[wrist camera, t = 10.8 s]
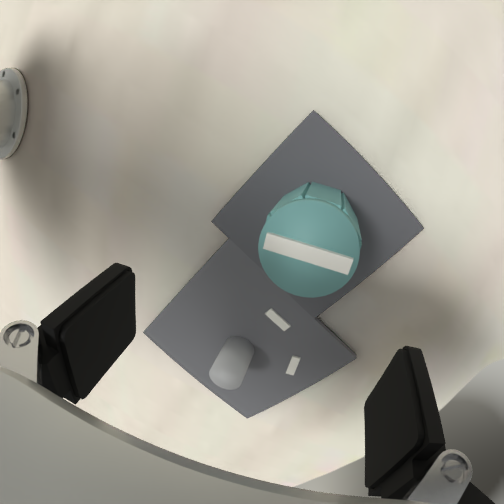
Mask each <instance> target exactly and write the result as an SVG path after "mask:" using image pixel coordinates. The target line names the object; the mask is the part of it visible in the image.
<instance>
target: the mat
mask: <svg viewBox="0 0 504 504" xmlns="http://www.w3.org/2000/svg"><path fill="white" fill-rule="evenodd" d="M308 182H309V183H310V185H311V183H312V182H315V183H319V184H322V185H325V186H329V187H332V188H335V189H339V190H341V194H342V193H344V194H345V196H346V198H347V200H348V201H349V203H350V205H351V207H352V209H353V211H354V213H355V215H356V217H357V219H358V224H359V229H360V234H361V239H362V241H361V242H362V246H361V249H360V256H359V262H358V265H357V268H356V270H355V272H354V274H353V276H352V277H351V279H350V280H349V281H348V282H347V283H346V284H345V285H344V286H343V287H342V288H340V289H339V290H337V291H335V292H333V293H331V294H328V295H326V296H321V297H314V298H312V297H300V296H296V295H293V294H291V293H288V292H286V291H285V292H286V293H287V294H288V295H290V296H291V297H292V298H293V299H294V300H295V301H296V302H297V303H298V304H299V305H300V306H301V307H302V308H303V309H304V310H305V311H307V312H308V313H309V314H310V315H311V316H312V317H313V318H315V317H317V316H318V315H319V314H321V313H322V312H323V311H325V310H326V309H327V308H329V307H330V306H331V305H333V304H334V303H335V302H336V301H338V300H339V299H340V298H342V297H343V296H344V295H345V294H347V293H348V292H349V291H350V290H352V289H353V288H354V287H356V286H357V285H358V284H359V283H360V282H362V281H363V280H364V279H365V278H367V277H368V276H369V275H370V274H372V273H373V272H374V271H375V270H376V269H378V268H379V267H380V266H381V265H382V264H384V263H385V262H386V261H387V260H388V259H389V258H391V257H392V256H393V255H394V254H395V253H396V252H398V251H399V250H400V249H401V248H402V247H403V246H405V245H406V244H407V243H408V242H409V241H410V240H411V239H412V238H414V237H415V236H416V235H417V234H418V233H419V232H420V231H421V230H422V229H424V228H423V226H422V225H421V224H420V222H419V221H418V220H417V219H416V218H415V216H414V215H413V214H412V213H411V211H410V210H409V209H408V208H407V207H406V205H405V204H404V203H403V202H402V201H401V200H400V198H399V197H398V196H397V195H396V194H395V193H394V191H393V190H392V189H391V188H390V187H389V186H388V185H387V183H386V182H385V181H384V180H383V179H382V178H381V177H380V176H379V175H378V174H377V172H376V171H375V170H374V169H373V168H372V167H371V166H370V165H369V164H368V163H367V162H366V161H365V160H364V159H363V158H362V157H361V156H360V155H359V153H358V152H357V151H356V150H355V149H354V148H353V147H352V146H351V145H350V144H349V143H348V142H347V141H346V140H345V139H344V138H343V137H342V136H341V135H340V134H338V133H337V132H336V131H335V130H334V129H333V128H332V127H331V126H330V125H329V124H328V123H327V122H326V121H325V120H324V119H323V118H322V117H320V116H319V115H318V114H317V113H316V112H315V111H314V110H313V111H312V112H311V113H310V114H309V115H308V116H307V117H306V118H305V119H304V120H303V122H302V123H301V124H300V125H299V126H298V127H297V128H296V129H295V130H294V131H293V132H292V133H291V134H290V135H289V136H288V137H287V138H286V139H285V140H284V141H283V143H282V144H281V145H280V146H279V147H278V148H277V149H276V150H275V151H274V152H273V153H272V154H271V155H270V156H269V158H268V159H267V160H266V161H265V162H264V163H263V164H262V165H261V166H260V167H259V168H258V170H257V171H256V172H255V173H254V174H253V175H252V176H251V177H250V178H249V179H248V181H247V182H246V183H245V184H244V185H243V186H242V187H241V188H240V189H239V191H238V192H237V193H236V194H235V195H234V196H233V197H232V198H231V200H230V201H229V202H228V203H227V204H226V205H225V206H224V208H223V209H222V210H221V211H220V212H219V213H218V214H217V216H216V217H215V218H214V219H213V220H212V221H211V222H212V223H213V224H215V225H216V226H217V227H218V228H219V229H220V230H221V231H222V232H223V233H224V234H225V235H226V236H227V237H228V238H229V239H230V240H231V241H232V242H233V243H235V244H236V245H237V246H238V247H239V248H240V249H241V250H242V251H243V252H244V253H245V254H246V255H247V256H248V257H249V258H250V259H251V260H252V261H254V262H255V263H256V264H257V265H258V266H259V267H260V268H261V269H262V270H263V271H264V269H263V267H262V264H261V262H260V258H259V252H258V243H259V237H260V234H261V231H262V229H263V227H264V225H265V223H266V219H267V215H268V214H269V213H270V212H271V210H272V209H273V208H274V207H275V206H276V204H277V203H278V202H279V201H280V200H281V198H282V197H283V196H284V195H286V194H288V193H290V192H291V191H293V190H295V189H297V188H299V187H300V186H302V185H304V184H306V183H308ZM264 272H265V271H264Z"/></svg>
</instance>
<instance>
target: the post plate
mask: <svg viewBox="0 0 504 504" xmlns="http://www.w3.org/2000/svg"><path fill="white" fill-rule="evenodd" d="M143 333H144V334H145V335H146V336H147V337H148V338H150V339H151V340H152V341H153V342H154V343H155V344H156V345H157V346H158V347H159V348H161V349H162V350H163V351H164V352H165V353H166V354H167V355H168V356H170V357H171V358H172V359H173V360H174V361H175V362H176V363H178V364H179V365H180V366H181V367H182V368H183V369H185V370H186V371H187V372H188V373H189V374H191V375H192V376H193V377H194V378H195V379H197V380H198V381H199V382H200V383H202V384H203V385H204V386H205V387H207V388H208V389H209V390H210V391H212V392H213V393H214V394H215V395H217V396H218V397H219V398H221V399H222V400H223V401H224V402H226V403H227V404H228V405H230V406H231V407H232V408H234V409H235V410H236V411H238V412H239V413H241V414H242V415H243V416H245V417H246V418H249V417H252V416H254V415H256V414H258V413H260V412H262V411H264V410H266V409H268V408H270V407H272V406H274V405H276V404H278V403H280V402H282V401H284V400H286V399H287V398H289V397H291V396H293V395H295V394H297V393H299V392H300V391H302V390H304V389H306V388H308V387H309V386H311V385H313V384H315V383H317V382H318V381H320V380H322V379H323V378H325V377H327V376H329V375H330V374H332V373H334V372H335V371H337V370H339V369H340V368H342V367H343V366H345V365H347V364H348V363H350V362H351V361H353V360H355V359H356V354H355V353H354V352H353V351H352V350H351V349H350V348H349V347H347V346H346V345H345V344H344V343H343V342H342V341H341V340H340V339H339V338H338V337H337V336H336V335H335V334H334V333H333V332H332V331H330V330H329V329H328V328H327V327H326V326H325V325H324V324H323V323H322V322H321V321H320V320H319V319H318V318H317V317H315V318H313V317H312V316H311V315H310V314H309V313H308V312H307V311H305V310H304V309H303V308H302V307H301V306H300V305H299V304H298V303H297V302H296V301H295V300H294V299H293V298H292V297H291V296H290V295H288V294H287V293H286V292H285V291H284V290H283V289H281V288H280V287H278V286H277V285H276V284H275V283H273V281H272V280H271V279H270V278H269V277H268V276H267V274H266V273H265V272H264V271H263V270H262V269H261V268H260V267H259V266H258V265H257V264H256V263H255V262H254V261H252V260H251V259H250V258H249V257H248V256H247V255H246V254H245V253H244V252H243V251H242V250H241V249H240V248H239V247H238V246H237V245H236V244H235V243H233V242H232V241H231V240H230V239H228V240H227V241H226V242H225V243H224V244H223V245H222V246H221V247H220V248H219V249H218V251H217V252H216V253H215V254H214V255H213V256H212V257H211V258H210V259H209V260H208V261H207V262H206V263H205V265H204V266H203V267H202V268H201V269H200V270H199V271H198V272H197V273H196V274H195V275H194V277H193V278H192V279H191V280H190V281H189V282H188V283H187V284H186V285H185V286H184V287H183V289H182V290H181V291H180V292H179V293H178V294H177V295H176V296H175V297H174V298H173V300H172V301H171V302H170V303H169V304H168V305H167V306H166V307H165V308H164V310H163V311H162V312H161V313H160V314H159V315H158V316H157V317H156V318H155V320H154V321H153V322H152V323H151V324H150V325H149V326H148V327H147V328H146V330H145V331H144V332H143Z"/></svg>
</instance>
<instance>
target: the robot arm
mask: <svg viewBox="0 0 504 504" xmlns="http://www.w3.org/2000/svg"><path fill="white" fill-rule="evenodd" d="M27 100H28V99H27V89H26V84H25V81H24V78H23V76H22V74H21V73H20V72H19V71H18V70H17V69H14V68H5V69H2V70H1V71H0V159H5V158H8V157H10V156H11V155H12V154H13V153H14V152H15V150H16V149H17V147H18V145H19V143H20V141H21V138H22V136H23V132H24V128H25V123H26V118H27ZM135 334H136V316H135V274H134V273H133V272H132V269H131V268H130V267H128V266H125V265H122V264H119V263H114V264H113V265H111V266H110V267H109V268H107V269H106V270H105V271H104V272H102V273H101V274H100V275H98V276H97V277H96V278H94V279H93V280H92V281H90V282H89V283H88V284H87V285H85V286H84V287H83V288H81V289H80V290H79V291H78V292H76V293H75V294H74V295H73V296H71V297H70V298H69V299H68V300H66V301H65V302H64V303H63V304H61V305H60V306H59V307H58V308H56V309H55V310H54V311H53V312H51V313H50V314H49V315H48V316H47V317H45V318H44V319H43V320H42V321H41V325H40V326H39V327H38V328H37V327H36V325H34V324H33V323H31V322H29V321H23V320H20V321H14V322H12V323H9V324H8V325H6V326H5V327H4V328H3V329H2V331H1V333H0V504H495V503H494V502H492V500H490V499H489V498H488V497H487V496H486V495H485V494H483V493H482V492H481V491H480V490H479V489H478V488H477V487H475V486H474V485H473V484H472V483H471V482H470V479H471V476H472V466H471V463H470V461H469V460H468V458H467V457H466V456H465V455H464V454H463V453H461V452H459V451H457V450H453V449H452V450H446V449H445V439H444V434H443V429H442V425H441V420H440V416H439V412H438V408H437V404H436V400H435V396H434V392H433V388H432V384H431V381H430V377H429V374H428V370H427V367H426V363H425V360H424V357H423V354H422V351H421V349H419V348H414V347H409V346H405V347H403V349H399V350H398V351H397V352H396V354H395V355H394V357H393V359H392V360H391V362H390V364H389V365H388V367H387V369H386V370H385V372H384V374H383V375H382V377H381V378H380V380H379V381H378V383H377V385H376V386H375V388H374V389H373V391H372V392H371V394H370V395H369V397H368V398H367V400H366V402H365V406H364V416H365V486H366V487H368V488H369V493H368V495H369V496H381V498H369V497H358V496H348V495H339V494H332V493H323V492H317V491H311V490H305V489H299V488H294V487H289V486H284V485H279V484H274V483H270V482H266V481H261V480H257V479H253V478H249V477H245V476H242V475H238V474H235V473H231V472H228V471H224V470H221V469H218V468H215V467H211V466H208V465H205V464H202V463H199V462H197V461H194V460H191V459H188V458H185V457H183V456H180V455H177V454H175V453H172V452H170V451H167V450H165V449H162V448H160V447H157V446H155V445H153V444H150V443H148V442H146V441H143V440H141V439H139V438H137V437H134V436H132V435H130V434H128V433H126V432H124V431H122V430H120V429H118V428H115V427H113V426H112V425H110V424H108V423H106V422H104V421H102V420H100V419H98V418H96V417H94V416H92V415H91V414H89V413H87V412H85V411H83V410H82V409H80V408H78V407H76V406H74V405H73V404H71V403H69V402H67V401H66V400H64V399H63V397H64V398H66V399H67V400H69V401H71V402H72V403H74V404H76V403H77V402H78V401H79V400H80V398H81V399H84V398H86V397H87V395H88V394H89V393H90V392H91V390H92V389H93V388H94V387H95V385H96V384H97V383H98V382H99V381H100V379H101V378H102V377H103V376H104V374H105V373H106V372H107V371H108V369H109V368H110V367H111V366H112V365H113V363H114V362H115V361H116V360H117V358H118V357H119V356H120V355H121V354H122V352H123V351H124V350H125V349H126V348H127V346H128V345H129V344H130V343H131V342H132V340H133V339H134V337H135Z"/></svg>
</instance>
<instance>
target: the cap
mask: <svg viewBox="0 0 504 504" xmlns="http://www.w3.org/2000/svg"><path fill="white" fill-rule="evenodd" d="M361 241H362V239H361V234H360V229H359V224H358V219H357V217H356V215H355V213H354V211H353V209H352V207H351V205H350V203H349V201H348V200H347V198H346V196H345V194H344V193H342V194H341V190H339V189H335V188H332V187H329V186H325V185H322V184H319V183H315V182H312V183H311V185H310V183H309V182H308V183H306V184H304V185H302V186H300V187H299V188H297V189H295V190H293V191H291V192H290V193H288V194H286V195H284V196H283V197H282V198H281V200H280V201H279V202H278V203H277V204H276V206H275V207H274V208H273V209H272V210H271V212H270V213H269V214H268V215H267V219H266V223H265V225H264V227H263V229H262V231H261V234H260V237H259V243H258V252H259V258H260V262H261V264H262V267H263V269H264V271H265V273H266V274H267V276H268V277H269V278H270V279H271V280H272V281H273V283H275V284H276V285H277V286H278V287H280V288H281V289H283V290H284V291H286V292H288V293H291V294H293V295H296V296H300V297H312V298H314V297H321V296H326V295H328V294H331V293H333V292H335V291H337V290H339V289H340V288H342V287H343V286H344V285H345V284H346V283H347V282H348V281H349V280H350V279H351V277H352V276H353V274H354V272H355V270H356V268H357V265H358V262H359V256H360V249H361V246H362V242H361Z"/></svg>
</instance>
